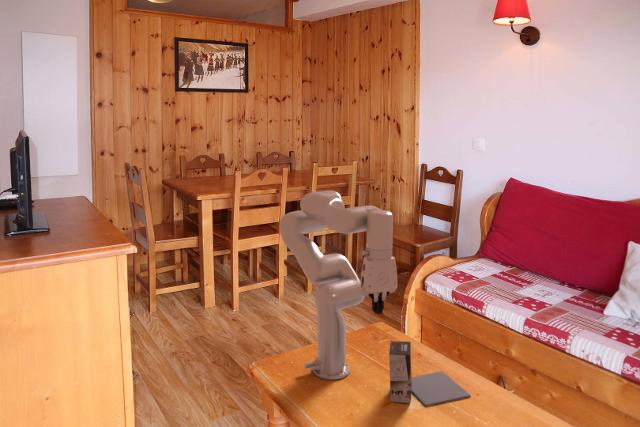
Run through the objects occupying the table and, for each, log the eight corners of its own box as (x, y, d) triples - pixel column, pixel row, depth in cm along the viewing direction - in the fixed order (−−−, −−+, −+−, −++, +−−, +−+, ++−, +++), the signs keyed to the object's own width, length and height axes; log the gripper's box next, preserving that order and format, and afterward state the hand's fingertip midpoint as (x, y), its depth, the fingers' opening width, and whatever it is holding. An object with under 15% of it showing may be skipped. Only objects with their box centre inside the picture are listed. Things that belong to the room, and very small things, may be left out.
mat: (425, 406, 160) (425, 404, 160) (400, 380, 175) (400, 379, 175) (470, 396, 165) (470, 395, 165) (442, 372, 180) (442, 371, 180)
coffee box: (411, 403, 161) (410, 355, 157) (390, 402, 162) (388, 354, 159) (412, 387, 170) (411, 341, 166) (392, 386, 171) (390, 340, 167)
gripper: (360, 259, 147) (359, 320, 151) (408, 254, 152) (406, 313, 156) (350, 252, 154) (349, 311, 158) (396, 247, 159) (394, 304, 163)
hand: (377, 312), depth 157 cm, fingers closed
